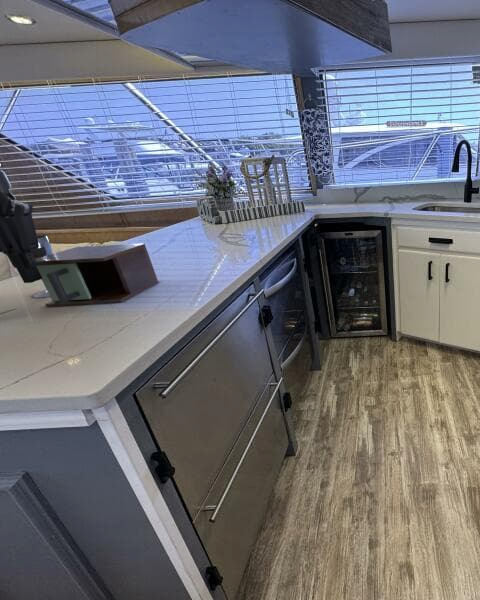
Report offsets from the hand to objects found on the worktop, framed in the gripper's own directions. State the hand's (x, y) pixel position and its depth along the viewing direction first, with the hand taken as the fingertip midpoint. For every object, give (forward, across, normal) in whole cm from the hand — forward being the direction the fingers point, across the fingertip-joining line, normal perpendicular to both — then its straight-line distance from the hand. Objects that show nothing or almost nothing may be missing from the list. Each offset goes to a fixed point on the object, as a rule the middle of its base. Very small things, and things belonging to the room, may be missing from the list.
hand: (33, 280), depth 73 cm
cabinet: (+8, -5, -10) cm, 14 cm away
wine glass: (+8, +12, -14) cm, 20 cm away
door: (+7, -2, -2) cm, 7 cm away
